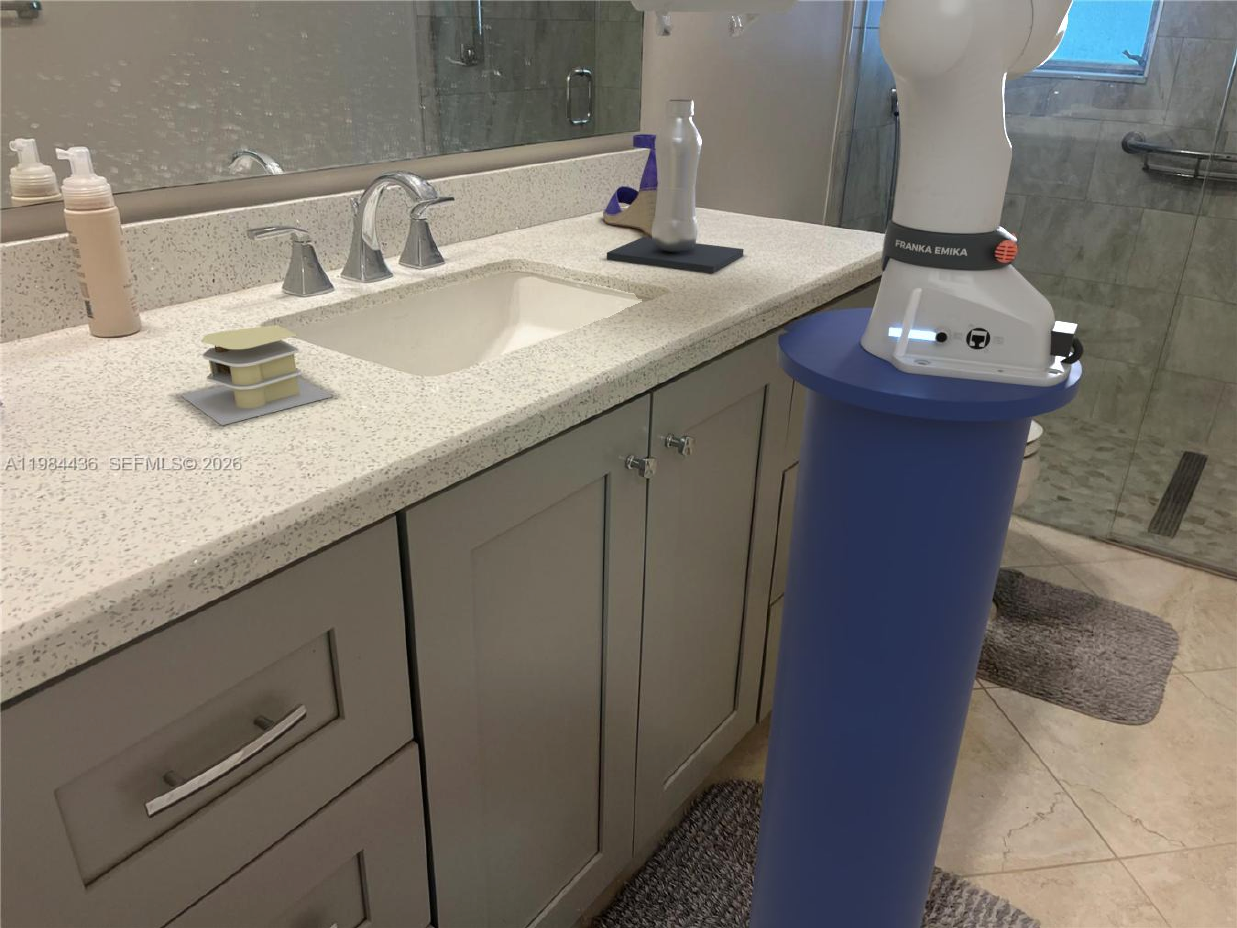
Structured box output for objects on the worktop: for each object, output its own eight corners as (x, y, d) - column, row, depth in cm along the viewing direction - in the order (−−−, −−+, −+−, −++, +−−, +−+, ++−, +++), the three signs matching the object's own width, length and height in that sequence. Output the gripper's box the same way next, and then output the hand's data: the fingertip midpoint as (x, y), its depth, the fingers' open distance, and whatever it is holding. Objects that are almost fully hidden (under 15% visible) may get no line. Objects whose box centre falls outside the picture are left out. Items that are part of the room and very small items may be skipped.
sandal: (642, 214, 163) (645, 122, 157) (679, 239, 146) (683, 137, 140) (596, 216, 162) (597, 123, 155) (628, 241, 144) (630, 137, 138)
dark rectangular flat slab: (743, 255, 137) (743, 249, 137) (712, 273, 127) (713, 266, 127) (643, 243, 143) (643, 236, 143) (606, 259, 134) (606, 252, 133)
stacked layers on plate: (287, 371, 91) (279, 315, 88) (332, 397, 85) (325, 337, 82) (180, 395, 84) (169, 336, 82) (222, 425, 79) (211, 362, 76)
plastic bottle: (701, 248, 137) (709, 99, 128) (690, 258, 131) (698, 103, 122) (657, 244, 138) (663, 97, 130) (645, 254, 132) (649, 101, 124)
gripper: (648, -46, 99) (621, 52, 112) (825, -40, 104) (780, 53, 117) (637, -91, 101) (611, 10, 114) (812, -83, 106) (768, 13, 119)
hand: (698, 32), depth 116 cm, fingers open, 8 cm apart
